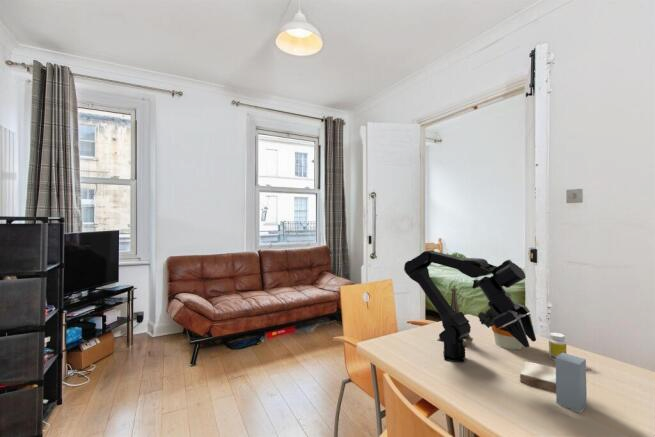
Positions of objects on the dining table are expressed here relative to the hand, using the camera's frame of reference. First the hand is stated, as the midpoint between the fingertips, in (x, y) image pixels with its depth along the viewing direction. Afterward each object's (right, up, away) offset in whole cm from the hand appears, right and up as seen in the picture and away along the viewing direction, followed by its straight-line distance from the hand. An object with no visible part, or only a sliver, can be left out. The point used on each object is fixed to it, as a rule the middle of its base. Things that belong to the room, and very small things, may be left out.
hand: (531, 343), depth 88 cm
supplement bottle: (+21, -12, +17) cm, 29 cm away
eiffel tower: (-7, -13, +35) cm, 38 cm away
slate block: (+5, -12, -8) cm, 16 cm away
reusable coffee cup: (+11, -13, +29) cm, 34 cm away
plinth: (+6, -12, +4) cm, 14 cm away
